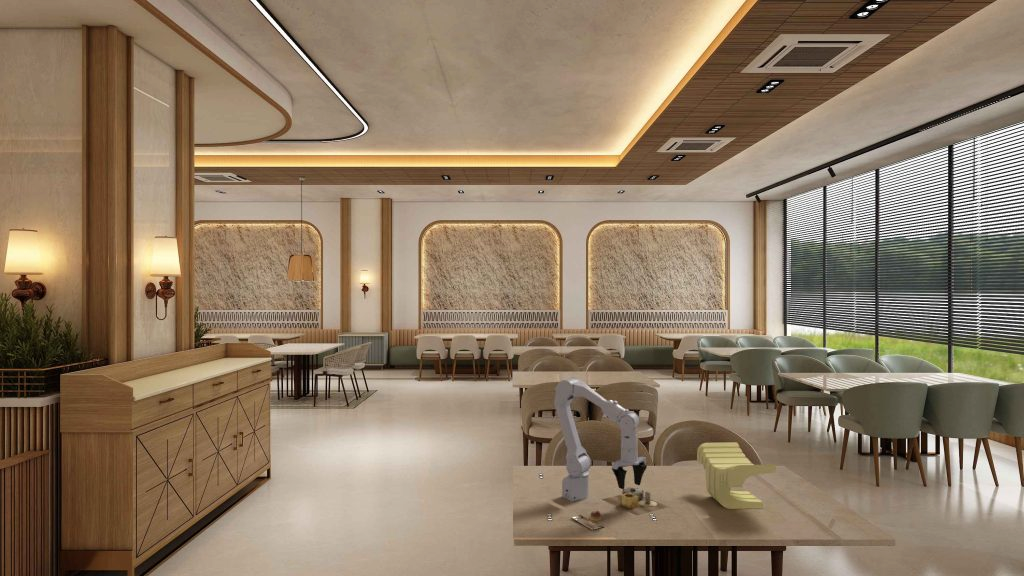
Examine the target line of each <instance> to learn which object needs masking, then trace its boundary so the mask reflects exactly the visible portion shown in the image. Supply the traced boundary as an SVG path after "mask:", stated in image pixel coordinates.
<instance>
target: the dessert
mask: <svg viewBox="0 0 1024 576" xmlns="http://www.w3.org/2000/svg"><path fill="white" fill-rule="evenodd" d="M580 517H584V518H585V516H583V515H582V514H578V515H573V516H570V518H571V519H573V520H574V521H576V522H578V523H580V524H581V525H584V526H585V527H587V528H588V529H590V530H592V531H594V530H593V529H595V530H598V528H599V529H603V528H604V526H603V525H602V526H598V527H595V528H592V527H590V526H589V525H586V524H584V523H583V522H581V521H579V519H575V518H580ZM580 519H581V518H580ZM601 520H603V519H602V514H601V512H600V510H598V508H597V509H596V508H593V509H592V510H591V513H590V516H589V520H588V522H589V521H590V522H592V523H597V522H599V521H601ZM595 521H597V522H595ZM590 522H589V523H590ZM592 523H591V524H592ZM602 527H603V528H602Z"/></svg>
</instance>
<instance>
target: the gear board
mask: <svg viewBox="0 0 1024 576" xmlns="http://www.w3.org/2000/svg"><path fill="white" fill-rule="evenodd" d="M644 492H645V493H644ZM625 493H631V494H635V495H637V496H638V507H636V508H630V509H628V508H625V507H623V506H622V505H620V495H622V494H625ZM644 494H645V495H644ZM601 500H602V501H604V502H606V503H609V504H610V505H613V506H616V507H618V508H620V509H622V510H624V511H626V512H629V513H631V514H633V515H636V516H640V515H643V514H647V513H651V512H655V511H657V510H662V509H665V508H669V505H666V504H663V503H660V502H658V501H655V500H653V499H651V491H644V490H643V489H639V487H635V488H634V487H627V488H624V489H622V493H621V494H619V495H614V496H611V497H606V498H602V499H601Z"/></svg>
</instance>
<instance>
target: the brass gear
mask: <svg viewBox="0 0 1024 576" xmlns="http://www.w3.org/2000/svg"><path fill="white" fill-rule="evenodd" d="M619 495H620V505H622V506H623V507H625V508H628V509H630V508H636V507H638V496H637V495H635V494H631V493H625V494H622V493H621V494H619Z"/></svg>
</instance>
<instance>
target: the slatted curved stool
mask: <svg viewBox="0 0 1024 576" xmlns="http://www.w3.org/2000/svg"><path fill="white" fill-rule="evenodd" d="M696 453H697V454H696V462H697V463H700V465H702V467H703V469H704V470H705V481H706V492H707V494H708V495H710V496H711V497H712V498H713V499H714V500H715V501H716V502H717V503H719V504H720V505H721V506H722V507H724V508H725V509H728V510H729V509H730V510H732V509H735V510H736V509H737V510H739V509H764V508H765V507H764V503H763V501H762V500H761V499H759V498H758V497H757V496H755V495H754V494H752V493H751V492H750V491H745V490H743V491H741V490H739V491H737V490H731V488H743V485H744V482H745V481H746V480H747V479H748V478H749V477H752V476H755V475H757V476H758V475H763V474H764V475H765V474H776V471H777V470H776V468H777V464H754V463H752V461H750V460H749V458H748V457H746V455H745V453H743V450H742V449H741V448H740V445H739V443H738V442H737V441H735V442H733V441H732V442H730V441H729V442H724V441H723V442H704V443H703V442H702V443H701V444H700V445H699V446H698V448H697V451H696Z"/></svg>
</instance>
